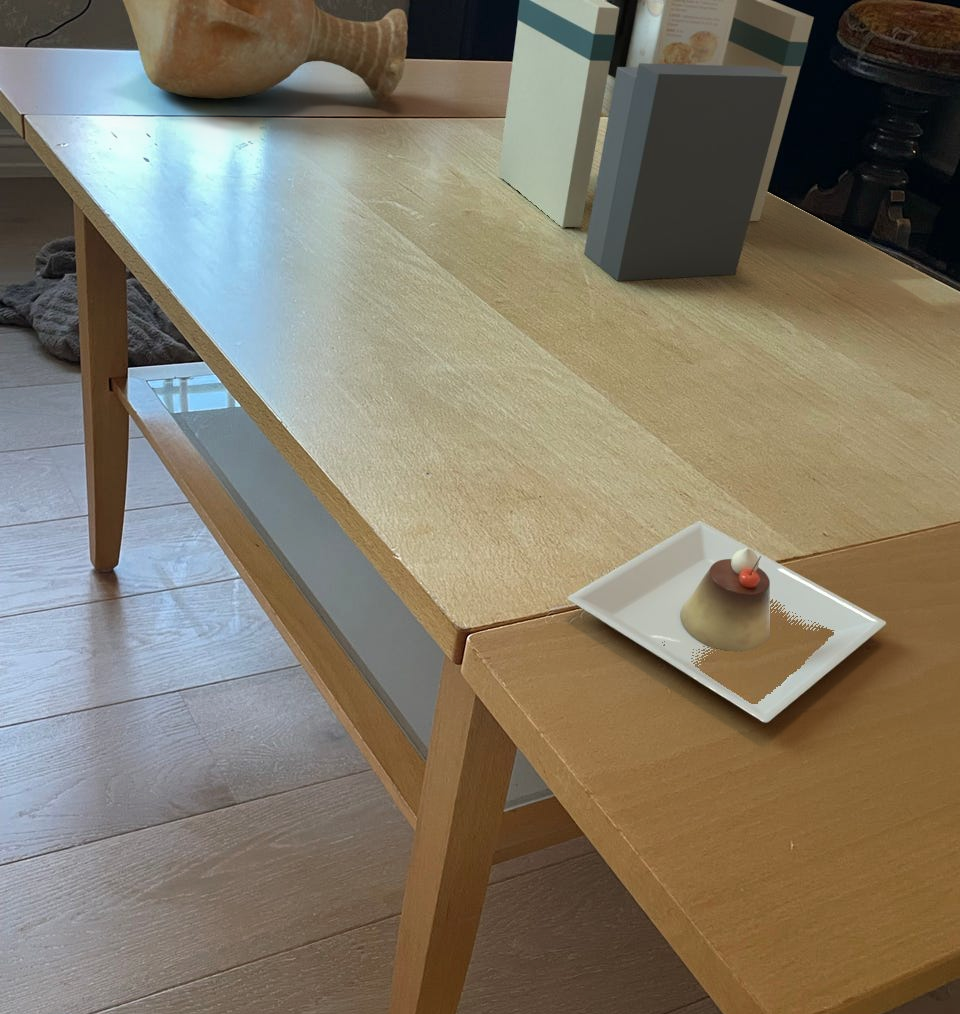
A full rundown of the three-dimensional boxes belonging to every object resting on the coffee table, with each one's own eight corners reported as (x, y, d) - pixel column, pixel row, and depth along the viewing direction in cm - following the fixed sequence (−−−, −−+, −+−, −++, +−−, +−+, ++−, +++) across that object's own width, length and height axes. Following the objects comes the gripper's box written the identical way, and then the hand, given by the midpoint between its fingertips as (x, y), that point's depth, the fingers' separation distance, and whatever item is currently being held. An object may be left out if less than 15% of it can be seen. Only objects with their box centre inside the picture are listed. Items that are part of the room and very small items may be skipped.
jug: (94, -63, 123) (359, -11, 137) (105, 118, 124) (368, 152, 137) (125, -179, 105) (427, -106, 119) (138, 33, 106) (436, 83, 119)
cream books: (684, 173, 123) (726, -18, 112) (760, 221, 113) (815, 17, 102) (497, 176, 114) (523, -31, 103) (562, 228, 105) (598, 6, 94)
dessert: (759, 740, 53) (789, 661, 50) (562, 614, 59) (578, 536, 56) (880, 639, 61) (912, 564, 58) (694, 536, 67) (715, 463, 64)
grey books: (698, 248, 105) (744, 56, 95) (735, 274, 101) (787, 76, 91) (583, 253, 100) (619, 52, 90) (617, 281, 96) (658, 73, 86)
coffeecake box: (706, 150, 105) (765, -103, 93) (633, 145, 103) (683, -113, 91) (650, 103, 116) (696, -128, 104) (583, 98, 114) (622, -138, 102)
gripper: (787, -220, 99) (721, 67, 114) (578, -252, 91) (535, 62, 106) (841, -211, 94) (765, 89, 108) (625, -243, 86) (573, 85, 100)
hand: (651, 75), depth 107 cm, fingers closed on coffeecake box, 8 cm apart
